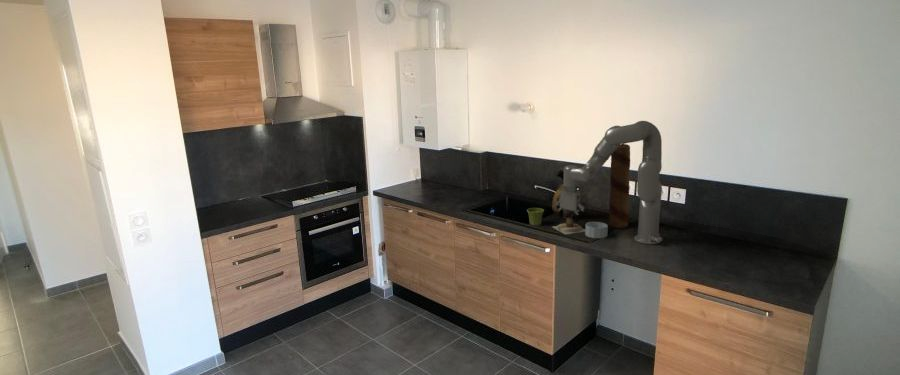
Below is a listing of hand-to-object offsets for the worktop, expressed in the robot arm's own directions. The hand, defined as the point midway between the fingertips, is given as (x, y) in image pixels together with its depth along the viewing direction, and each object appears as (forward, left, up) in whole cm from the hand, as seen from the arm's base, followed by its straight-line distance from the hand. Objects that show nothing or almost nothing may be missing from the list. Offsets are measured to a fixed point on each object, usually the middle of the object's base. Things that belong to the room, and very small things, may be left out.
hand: (568, 219), depth 267 cm
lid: (0, 0, -5) cm, 5 cm away
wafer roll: (-4, -28, -6) cm, 29 cm away
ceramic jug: (+20, -11, -6) cm, 24 cm away
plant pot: (+16, +12, -6) cm, 20 cm away
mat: (0, 0, -6) cm, 6 cm away
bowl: (-14, -7, -6) cm, 17 cm away
